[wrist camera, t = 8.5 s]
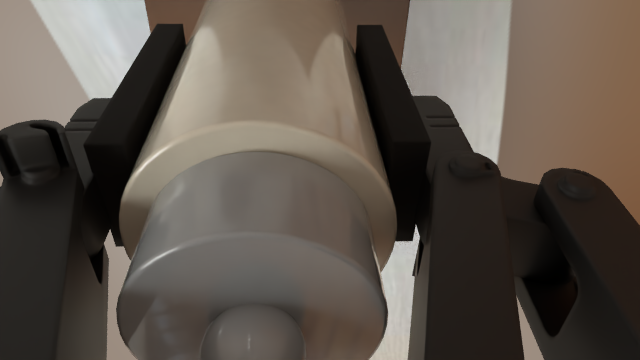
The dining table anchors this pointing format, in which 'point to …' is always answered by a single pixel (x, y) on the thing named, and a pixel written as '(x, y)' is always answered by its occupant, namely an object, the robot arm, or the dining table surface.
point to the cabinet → (358, 5)
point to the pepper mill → (259, 196)
